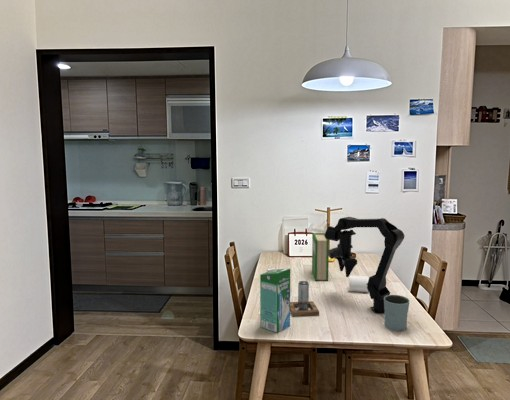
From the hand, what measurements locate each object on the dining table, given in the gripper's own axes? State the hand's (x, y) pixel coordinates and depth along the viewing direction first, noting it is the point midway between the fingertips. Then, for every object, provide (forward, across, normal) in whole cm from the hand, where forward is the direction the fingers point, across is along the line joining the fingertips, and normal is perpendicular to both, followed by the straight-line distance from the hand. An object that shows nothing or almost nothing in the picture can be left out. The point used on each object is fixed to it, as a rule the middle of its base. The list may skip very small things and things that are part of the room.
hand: (344, 273), depth 196 cm
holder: (+13, +12, -23) cm, 29 cm away
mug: (+13, -13, +12) cm, 22 cm away
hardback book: (+14, -37, -2) cm, 39 cm away
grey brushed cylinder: (+13, +12, -23) cm, 29 cm away
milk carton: (+13, +27, -38) cm, 48 cm away
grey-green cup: (+13, +32, +12) cm, 37 cm away
